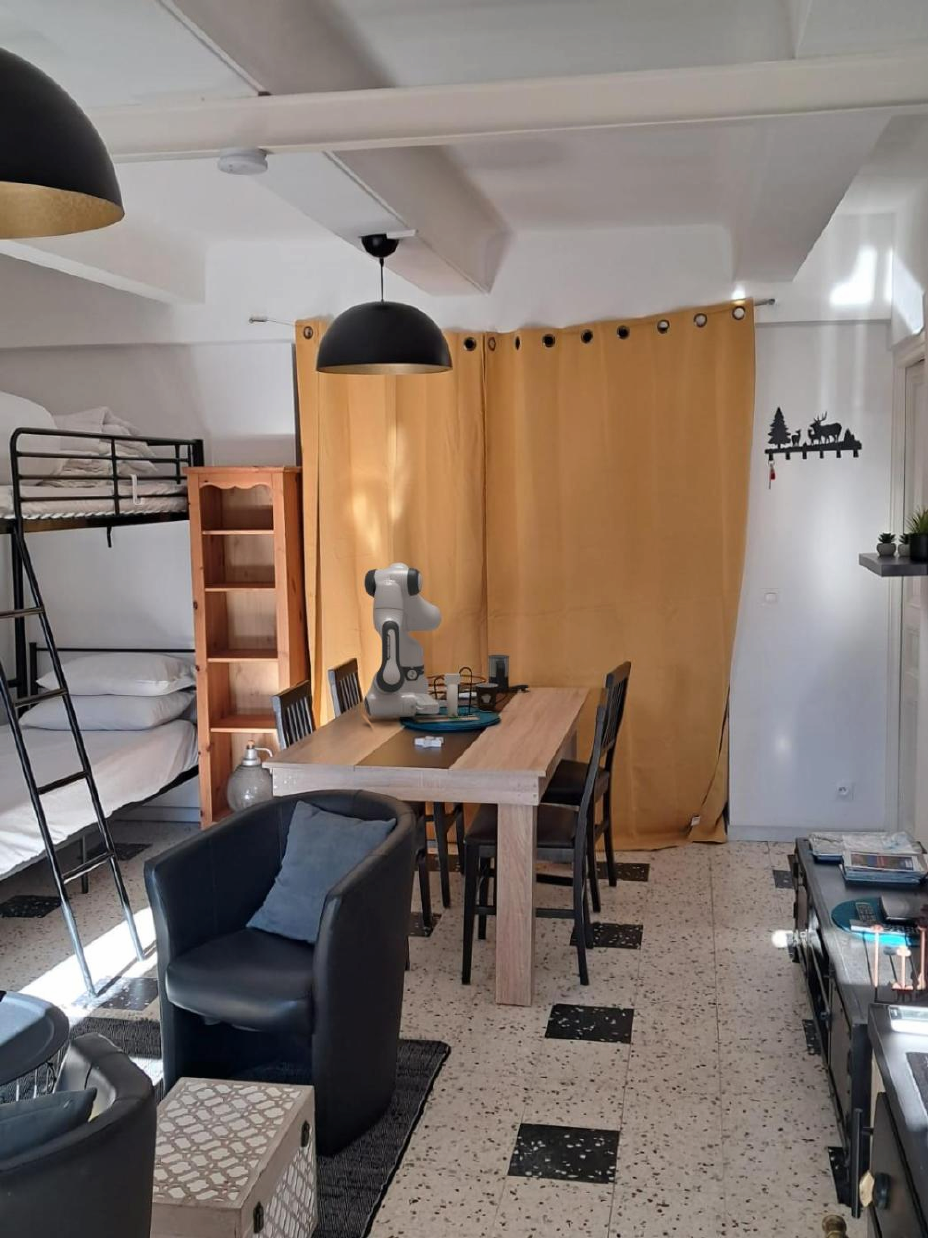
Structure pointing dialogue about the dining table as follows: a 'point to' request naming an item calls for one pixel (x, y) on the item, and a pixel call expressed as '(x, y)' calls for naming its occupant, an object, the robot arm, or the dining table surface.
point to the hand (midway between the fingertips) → (446, 703)
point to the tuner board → (443, 718)
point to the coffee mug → (487, 696)
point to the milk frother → (501, 673)
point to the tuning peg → (452, 693)
